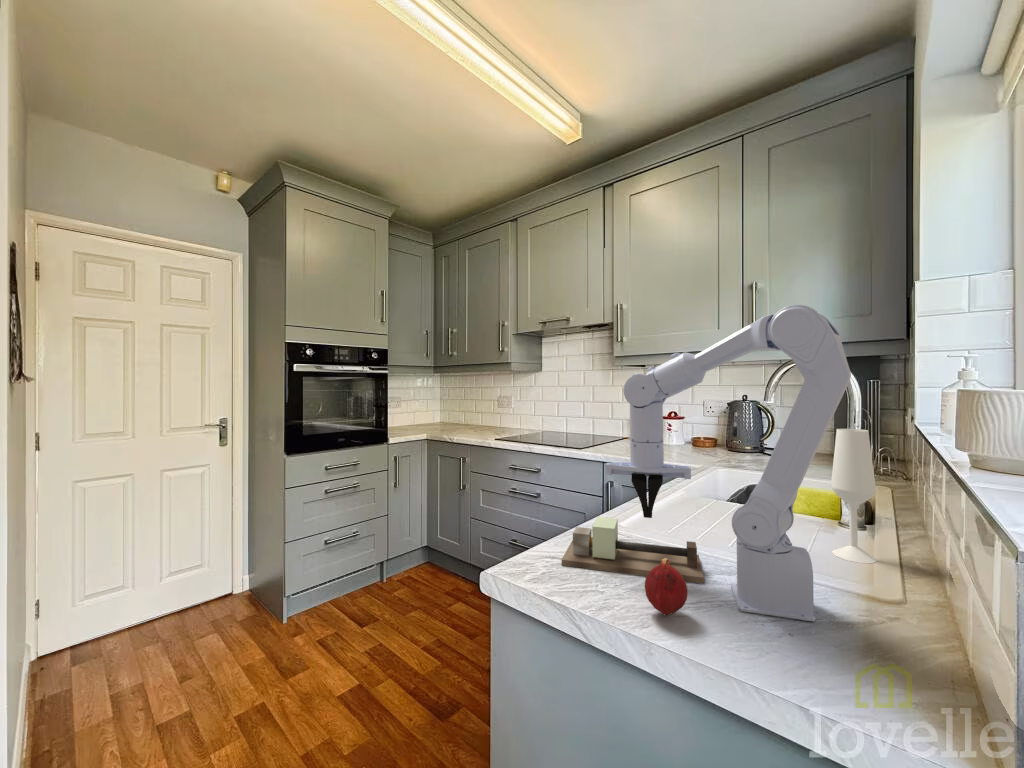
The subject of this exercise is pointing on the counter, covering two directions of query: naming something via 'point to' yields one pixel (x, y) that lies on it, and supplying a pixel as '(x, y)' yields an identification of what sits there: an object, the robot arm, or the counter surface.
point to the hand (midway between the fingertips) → (647, 516)
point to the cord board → (633, 557)
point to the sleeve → (605, 537)
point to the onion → (666, 588)
